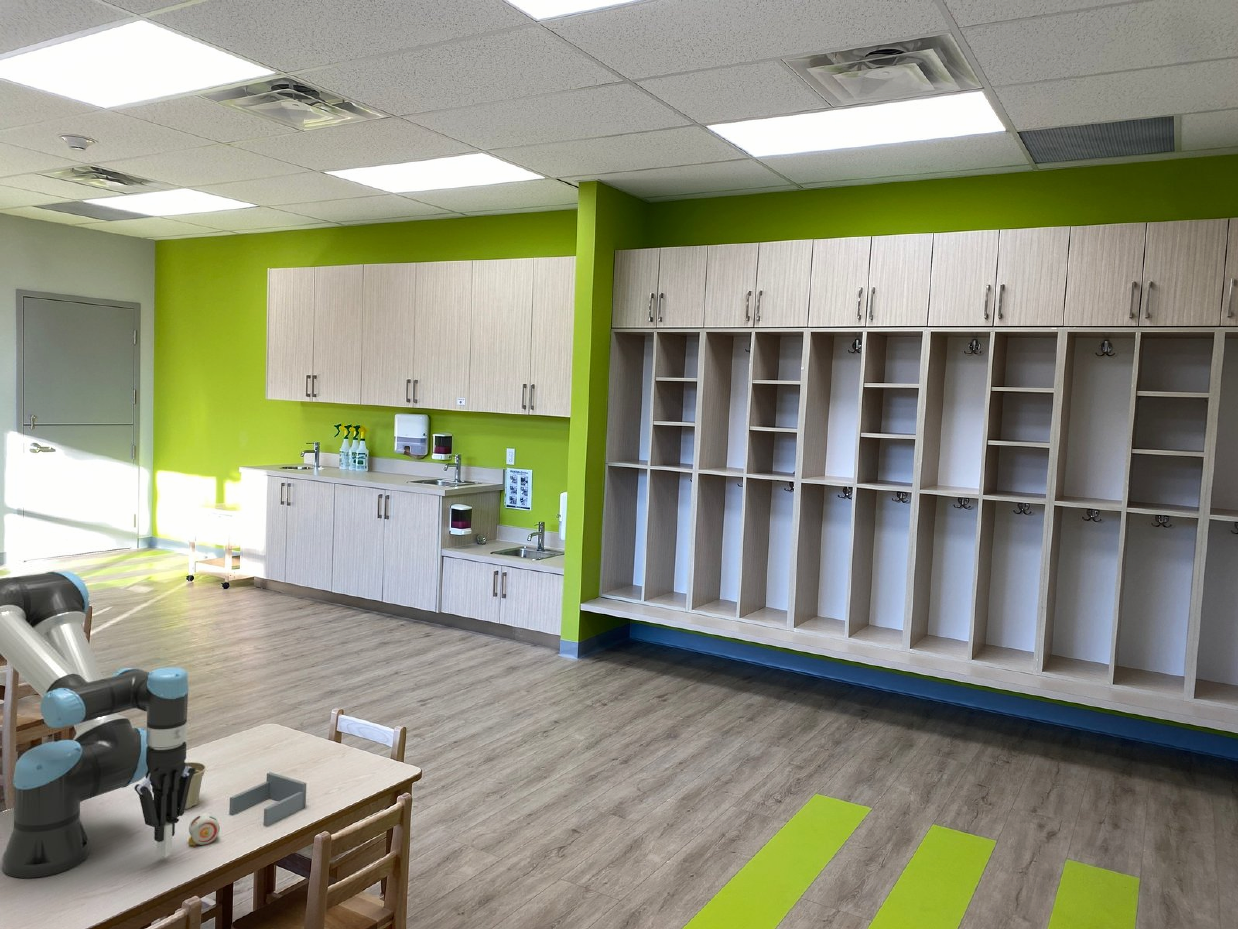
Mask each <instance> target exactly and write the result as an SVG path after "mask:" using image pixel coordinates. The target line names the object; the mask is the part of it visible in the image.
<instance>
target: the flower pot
mask: <svg viewBox="0 0 1238 929" xmlns="http://www.w3.org/2000/svg"><path fill="white" fill-rule="evenodd" d="M185 763H186V766H189V767H192V768H195V769H196V771H195V773H194V775H193V777H192V779H191V783H190V788H189V792H188V797H187V801H186V806H185V810H187V809H190V808H192V807H195V806H197V805H198V803H199V798H200V793H201V787H202V781H203V776H204V774H205V772H206V770H207V766H206V764H205V763H202V762H199V761H185ZM178 809H179V808H178Z"/></svg>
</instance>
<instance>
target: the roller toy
mask: <svg viewBox="0 0 1238 929" xmlns="http://www.w3.org/2000/svg"><path fill="white" fill-rule="evenodd" d="M189 823H190V824H189V826H188V833H189V835H190V837H189V838H188V844H189V845H191V846H196V845H200V846H203V845H204V846H205V845H208V844H211V843H212V842H213V841H214V840H216V839H217V838H218V835H219V833H220V829H221V826H220V823H219V821H218V819H217V818H216V816H214V815H213V814H211V813H208V812H205V813H204V812H203V813H201V814H198V815H196V816H195V817H194V818H193V819H192V820H191V821H190V822H189Z"/></svg>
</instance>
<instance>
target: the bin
mask: <svg viewBox="0 0 1238 929" xmlns="http://www.w3.org/2000/svg"><path fill="white" fill-rule="evenodd" d="M268 799H269V800H273V801H277V802H275V803H273V804H270V805H268V806H266V807H264V808H263V826H264V827H269V826H271V825H273V824H276V823H277V822H279V821H280V820H283V819H285V818H287V817H289V816H291V815H292V814H295V813H297V812H299V811H301V810H303V809H304V808H306V807H307V806H306V804H307V782H305V781H301V780H297V779H295V778H292V777H288V776H284V775H281V774H278V773H274V772H272V771H269V772H266V781H264V782H262V783H260V784H258V785H255V786H253V787H251V788H248V789H246V790H244V791H241V792H239V793H236V794H235V795H232V796H230V797H229V807H228V808H229V811H228V812H229V813H228V814H229V815H231V816H233V815H236V814H238V813H241V812H243V811H245V810H246V809H248V808H251V807H253V806H255V805H257V804H260V803H261V802H265V801H266V800H268ZM296 811H297V812H296Z"/></svg>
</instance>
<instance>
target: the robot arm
mask: <svg viewBox="0 0 1238 929" xmlns="http://www.w3.org/2000/svg"><path fill="white" fill-rule="evenodd" d="M88 590H89V589H88V587H87V586H86V584H85V582H84V581H83V579H81V577H80V576H78V575H77V574H76V573H74V572H70V571H65V570H64V571H48V572H47V571H46V572H45V573H38V574H29V575H21V576H13V577H3V578H0V656H2V657H3V658H4V660H6V661H7V662H8V664H10V665H11V667H13V669H14V670H15V671H16V672H17V673H18V674H19V675H20V676H21V677H22V678H23V679H24V680H25V681H26V683H27V684H28V685H30V686H31V688H32V689H33V690H34V691H35V692H36V693H37V694H38V695H39V696H40V697H41V701H40V713H41V717H43V721H44V723H45V724H46V726H48V727H50V728H53V729H60V728H64V727H72V726H73V727H74V729H75V733H76V734H75V735H74V738H73V739H62V740H61V739H60V740H58V741H49V742H46V743H42V744H40V745H37V746H34V747H32V748H31V749H29V750H27V751H25V752H24V753H22V755H20V756H19V758H18V760H17V761H16V764H15V767H14V773H13V774H14V775H13V779H12V784H13V828H12V832H11V834H10V837H9V840H8V842H7V845H6V848H5V851H4V853H3V855H2V871H3V872H4V874H6V875H8V876H11V877H14V878H19V879H21V878H22V879H31V878H35V879H36V878H41V877H48V876H51V875H56V874H59V873H62V872H66V871H67V870H70V869H72V868H75V867H76V866H78V865H79V864H81V863H83V862H84V861H85V860H86V859H87V857H88V856H89V854H90V853H89V852H90V840H89V838H88V835H87V833H86V830H85V828H84V825H83V823H82V820H81V802H83V801H86V800H89V799H92V798H95V797H99V796H102V795H104V794H108V793H109V792H113V791H115V790H119V789H123V788H127V787H129V786H131V785H132V784H135V783H137V782H140V781H141V780H143V779H144V780H143V781H142V782H141V783H140V784H136V785H135V786H134V787H133V788H134V790H135V791H136V794H138V796H139V800H140V801H139V802H140V807H141V810H142V815H143V819H144V824H145V825H147V826H150V828H151V827H152V828H154V829H153V830H154V831H153V832H154V834H153V836H154V837H153V839H154V841H155V842H156V854H157V855H159V856H163V857H168V856H171V855H172V852H173V850H172V849H173V837H174V836H175V833H176V829H175V828H176V824H177V823H178V822H179V821H180V818H179V817H182V816H184V814H185V810H186V809H185V806H186V801H187V797H188V792H189V788H190V783H191V779H192V777H193V775H194V773H195V771H196V769H195V768H192V767H189V766H186V763H185V762H186V759H187V742H186V741H187V738H188V737H187V736H188V735H187V732H188V727H187V726H188V706H189V705H188V703H189V690H190V688H189V683H188V678H189V677H188V672H187V671H186V669H184V668H182V667H173V666H167V667H160V668H156V669H154V670H152V671H150V672H148V671H147V670H143V669H141V668H135V667H134V668H133V667H125V668H121V669H119V670H118V671H116V672H115V673H113V674H112V675H111V676H110V677H106V678H104V676H103V674H102V672H101V669H100V667H99V664H98V662H97V660H96V658H95V655H94V652H93V651H92V647H91V646H90V643H89V641H88V639H87V636H86V633H85V631H84V628H83V623H84V622H85V620H86V617H87V616H86V614H87V612H88V610H89V607H90V600H89V598H90V594H89V591H88ZM134 709H138V710H141V711H143V712H146V729H144V728H143V727H137V726H134V727H133V726H132V724H131V721H130V719H129V717H126V716H123V715H120V714H119V713H122V712H126V711H129V710H134ZM178 808H179V809H178Z"/></svg>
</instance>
